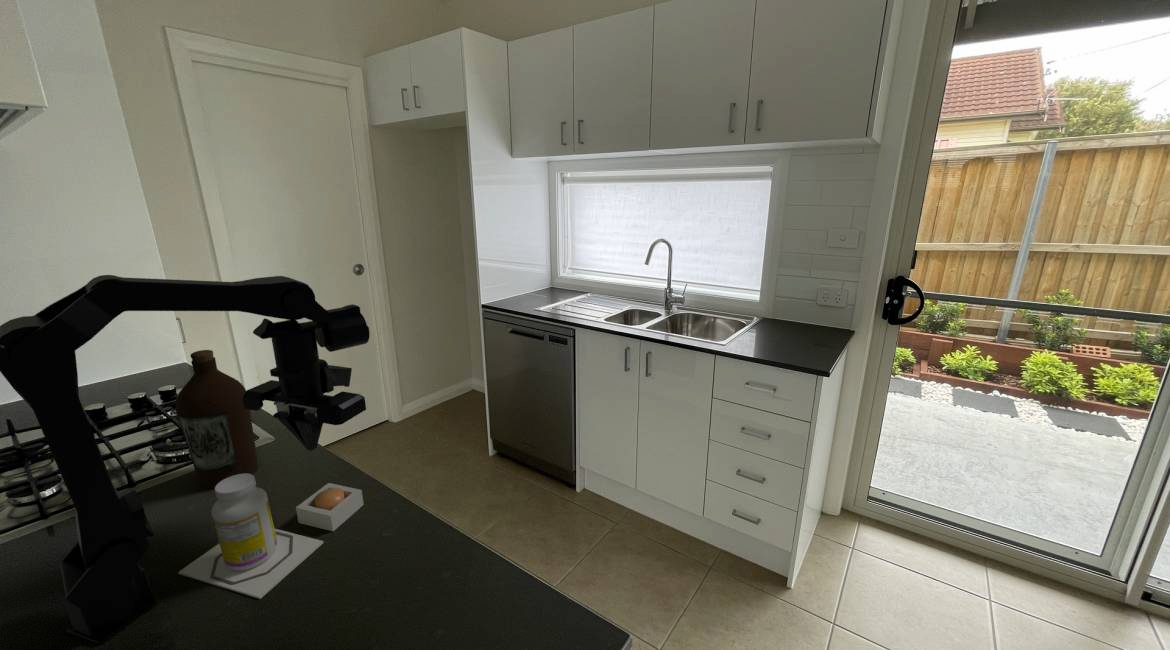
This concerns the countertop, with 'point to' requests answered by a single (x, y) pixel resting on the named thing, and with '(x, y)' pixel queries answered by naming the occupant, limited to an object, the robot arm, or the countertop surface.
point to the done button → (329, 498)
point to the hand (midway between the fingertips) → (312, 449)
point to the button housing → (334, 517)
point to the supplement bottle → (243, 522)
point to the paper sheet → (257, 578)
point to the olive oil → (216, 423)
